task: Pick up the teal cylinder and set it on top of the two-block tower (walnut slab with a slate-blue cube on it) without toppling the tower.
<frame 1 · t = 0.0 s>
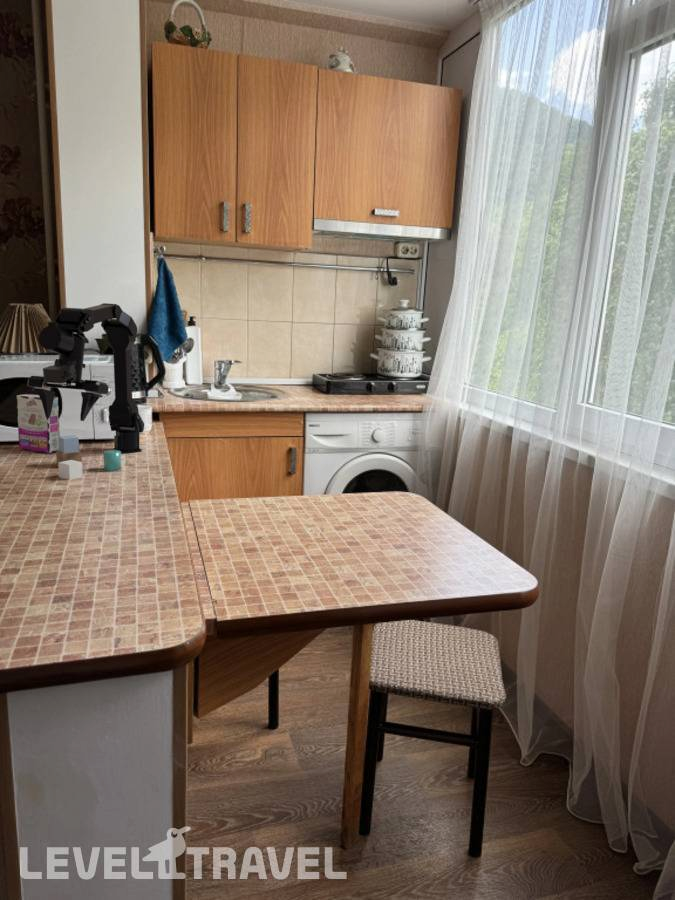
hand: (64, 419, 161), 15 cm above the countertop, tool pointing down, fingers open, 9 cm apart
tower base: (69, 465, 177), on the countertop, touching tower top
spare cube: (70, 477, 166), on the countertop
candy bar box: (39, 450, 192), on the countertop
tower top: (68, 451, 177), point 4 cm above the countertop, touching tower base
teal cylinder: (112, 469, 175), on the countertop
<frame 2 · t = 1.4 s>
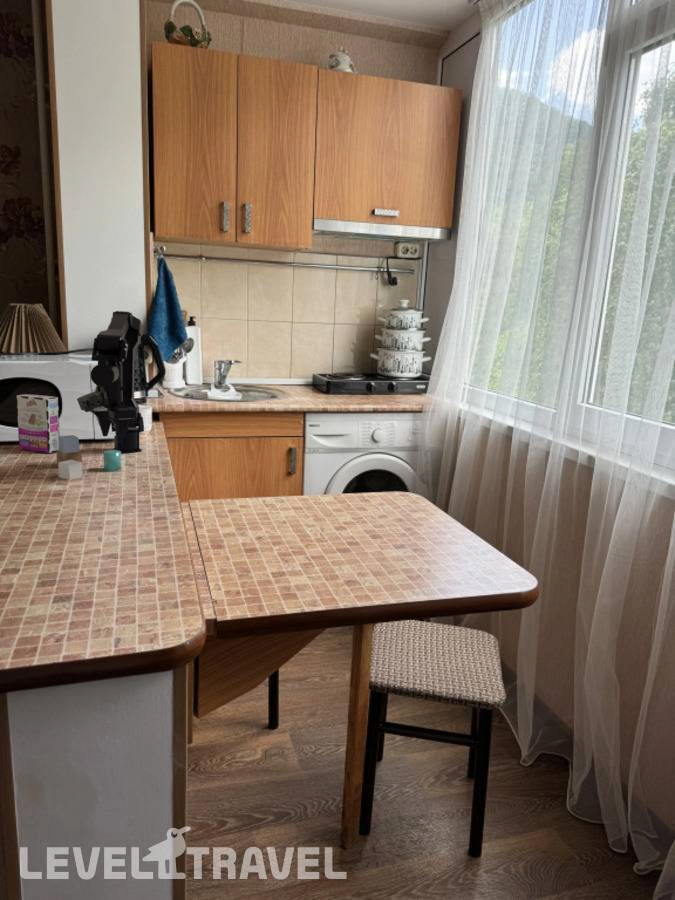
hand: (112, 439, 174), 8 cm above the countertop, tool pointing down, fingers open, 9 cm apart
nothing on the countertop moved.
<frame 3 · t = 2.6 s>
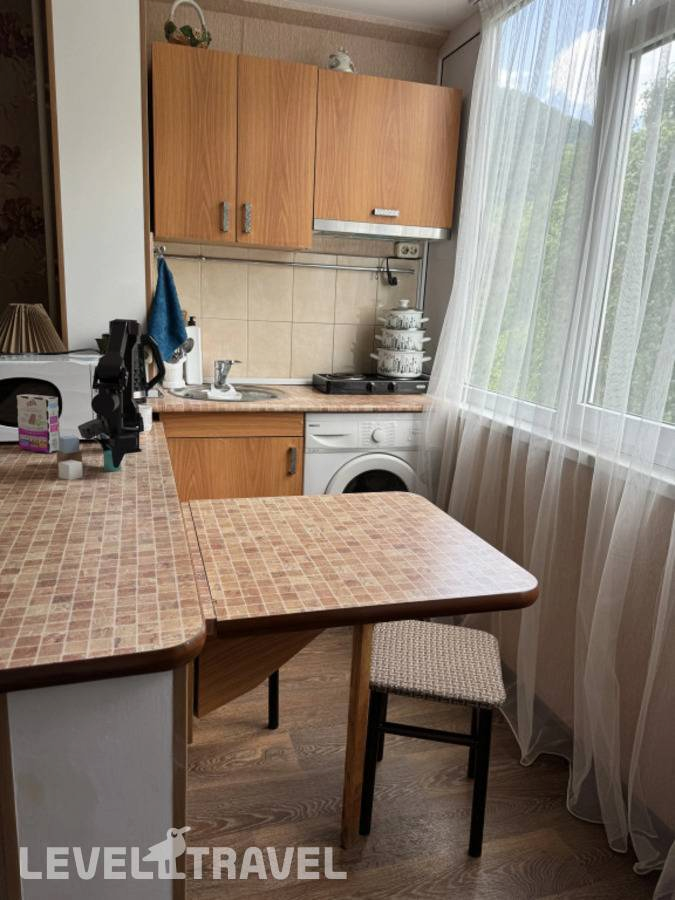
hand: (112, 465, 175), 1 cm above the countertop, tool pointing down, fingers closed on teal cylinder, 4 cm apart
tower base: (69, 465, 177), on the countertop
tower top: (69, 451, 177), point 4 cm above the countertop
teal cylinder: (112, 469, 175), on the countertop, touching gripper
everything else where it was.
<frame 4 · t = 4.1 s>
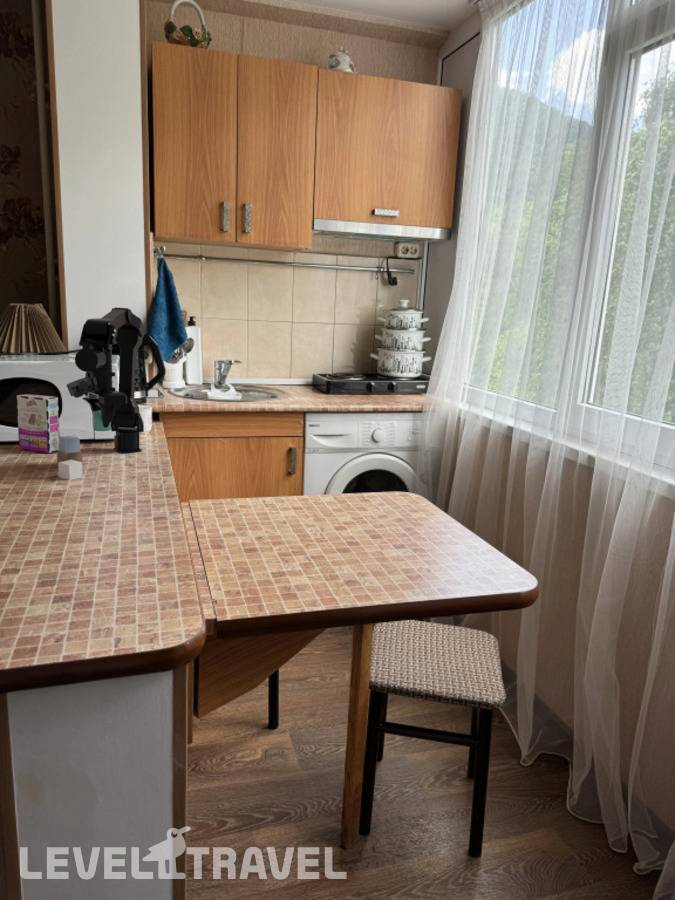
hand: (102, 425, 173), 12 cm above the countertop, tool pointing down, fingers closed on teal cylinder, 4 cm apart
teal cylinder: (102, 429, 174), point 11 cm above the countertop, touching gripper
everything else where it was.
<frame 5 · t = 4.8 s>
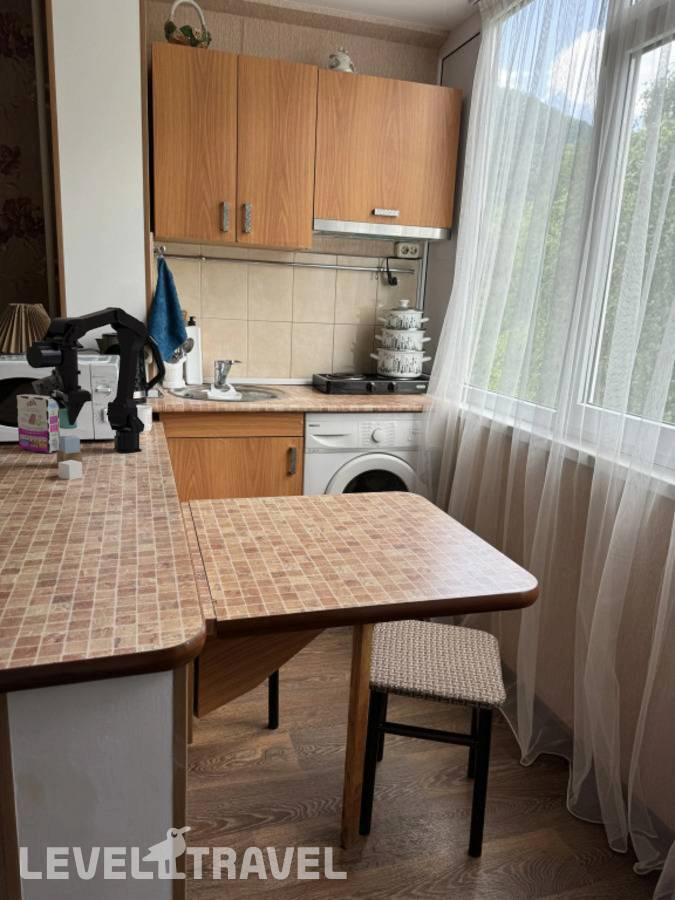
hand: (68, 423, 175), 12 cm above the countertop, tool pointing down, fingers closed on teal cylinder, 4 cm apart
tower base: (69, 465, 177), on the countertop, touching tower top
tower top: (69, 451, 176), point 4 cm above the countertop, touching tower base
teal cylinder: (68, 427, 175), point 11 cm above the countertop, touching gripper
everything else where it was.
when the fingers open (10 cm above the countertop, at t = 5.4 s): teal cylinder drops 1 cm, resting on tower top.
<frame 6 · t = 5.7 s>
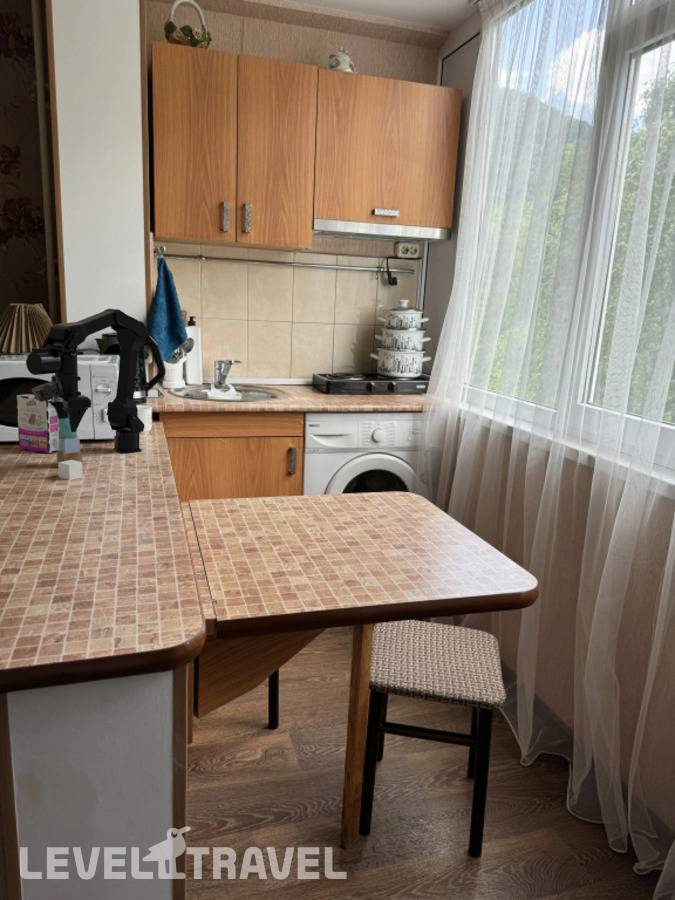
hand: (68, 429, 175), 10 cm above the countertop, tool pointing down, fingers open, 7 cm apart
tower top: (69, 451, 177), point 4 cm above the countertop, touching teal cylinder, tower base
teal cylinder: (68, 437, 176), point 8 cm above the countertop, touching tower top
everything else where it was.
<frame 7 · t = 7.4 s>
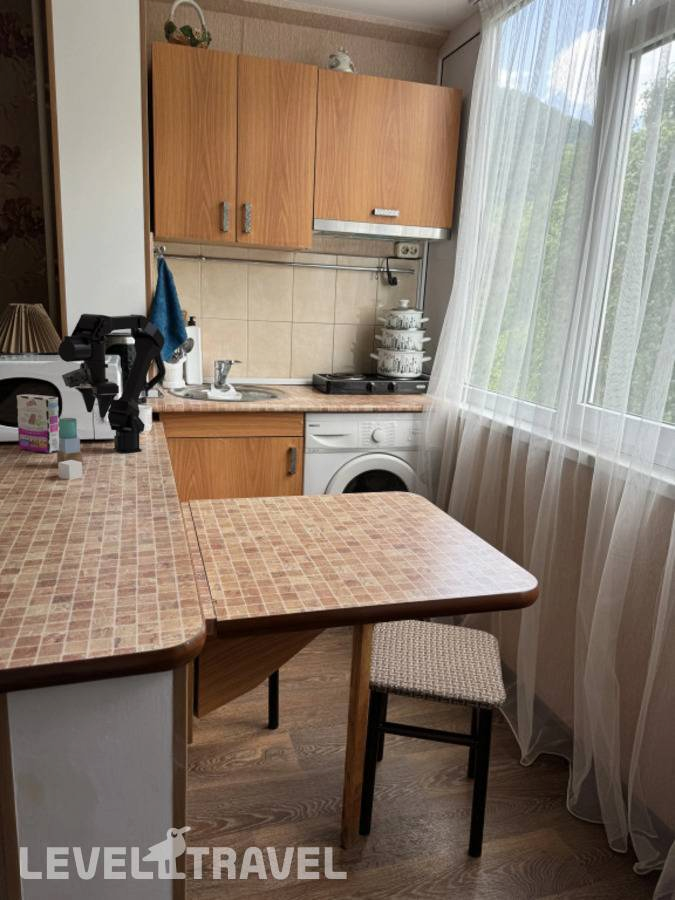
hand: (95, 414, 183), 13 cm above the countertop, tool pointing down, fingers open, 9 cm apart
nothing on the countertop moved.
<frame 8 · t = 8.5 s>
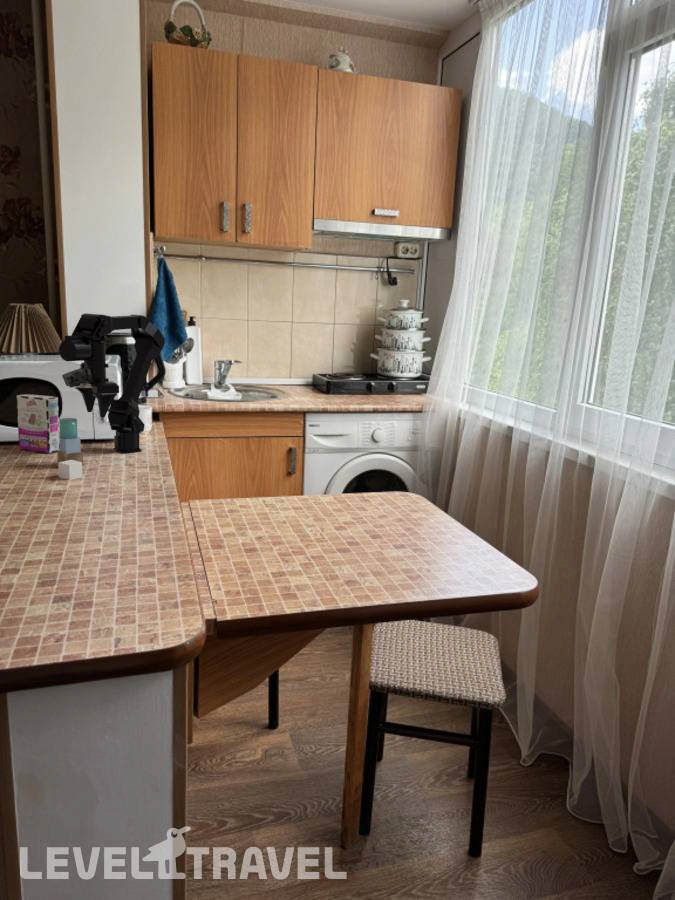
hand: (96, 414, 183), 13 cm above the countertop, tool pointing down, fingers open, 9 cm apart
nothing on the countertop moved.
at the end: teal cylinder 0.3 cm off-centre on the tower top, point 4.0 cm above the tower top's base; tower top moved 0.5 cm from its start; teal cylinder tilted 0° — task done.
